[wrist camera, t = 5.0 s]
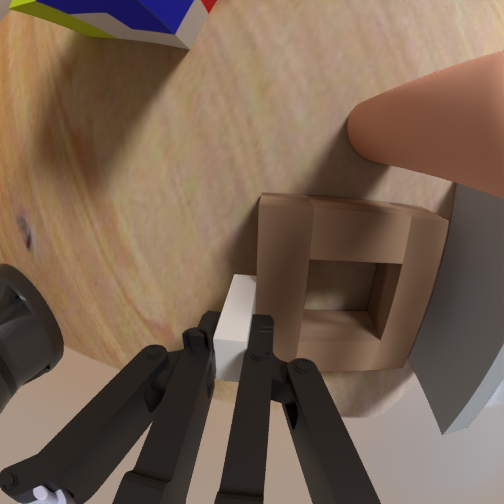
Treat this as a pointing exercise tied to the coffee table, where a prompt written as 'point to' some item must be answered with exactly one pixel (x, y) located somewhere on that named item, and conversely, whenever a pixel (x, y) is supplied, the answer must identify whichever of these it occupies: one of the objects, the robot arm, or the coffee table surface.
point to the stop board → (465, 314)
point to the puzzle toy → (125, 18)
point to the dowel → (440, 125)
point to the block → (346, 249)
